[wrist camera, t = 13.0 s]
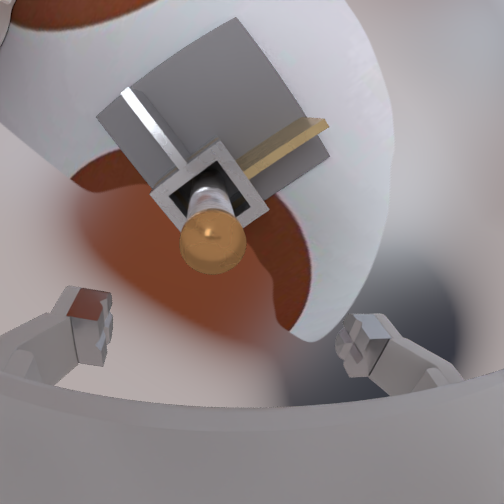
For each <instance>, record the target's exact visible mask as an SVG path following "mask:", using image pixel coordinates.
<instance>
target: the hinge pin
mask: <svg viewBox="0 0 504 504" xmlns="http://www.w3.org/2000/svg"><path fill="white" fill-rule="evenodd" d="M179 246H180V252H181V255H182V257H183V259H184V260H185V262H186V263H187V264H188V265H189V266H190V267H192V268H193V269H194V270H196V271H198V272H201V273H204V274H221V273H224V272H227V271H229V270H230V269H232V268H234V267H235V266H236V265H237V264H238V263H239V262H240V260H241V259H242V257H243V256H244V253H245V250H246V236H245V233H244V230H243V227H242V225H241V223H240V222H239V220H238V219H237V218H236V217H235V215H234V212H233V209H232V206H231V202H230V199H229V196H228V193H227V189H226V186H225V183H224V180H223V177H222V175H221V174H220V173H219V172H218V171H217V170H214V169H211V168H206V169H204V170H203V171H201V172H200V173H198V174H197V175H196V176H194V178H193V181H192V187H191V193H190V200H189V207H188V214H187V221H186V222H185V224H184V226H183V228H182V230H181V235H180V241H179Z"/></svg>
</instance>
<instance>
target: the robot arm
mask: <svg viewBox="0 0 504 504" xmlns="http://www.w3.org/2000/svg"><path fill="white" fill-rule="evenodd" d="M15 1H16V0H0V46H1V44H2V42H3V40H4V37H5V35H6V32H7V30H8V26H9V22H10V16H11V10H12V7H13V5H14V3H15ZM111 306H112V295H111V293H110V292H104V291H98V290H92V289H86V288H80V287H74V286H67V287H66V288H65V289H64V291H63V293H62V294H61V296H60V298H59V299H58V301H57V303H56V304H55V306H54V307H53V309H52V311H51V313H44V314H42V315H40V316H38V317H36V318H34V319H32V320H30V321H28V322H27V323H24V324H22V325H20V326H19V327H16V328H14V329H12V330H10V331H8V332H7V333H5V334H3V335H1V336H0V504H504V369H501V370H499V371H495V372H492V373H489V374H486V375H482V376H479V377H475V378H472V379H468V380H464V379H463V377H462V376H461V375H460V374H459V372H458V371H457V370H456V369H455V368H454V366H453V365H452V364H451V363H449V362H447V361H446V360H444V359H442V358H440V357H438V356H437V355H435V354H433V353H431V352H430V351H428V350H426V349H424V348H423V347H421V346H419V345H417V344H416V343H414V342H412V341H410V340H409V339H407V338H403V337H402V336H401V335H400V333H399V332H398V331H397V330H396V329H395V327H394V326H393V325H392V323H391V322H390V321H389V320H388V318H387V317H386V316H385V315H383V314H348V315H347V316H346V317H345V319H344V321H343V325H344V328H343V329H342V330H341V331H340V332H339V333H338V335H337V338H336V343H335V348H336V352H337V354H338V356H339V357H340V358H341V359H343V360H344V364H343V366H344V367H345V369H346V371H347V373H348V375H349V377H366V376H369V378H370V379H371V380H372V381H374V382H375V383H376V384H377V385H378V386H380V387H381V388H382V389H383V390H384V391H385V392H387V393H388V394H389V395H390V397H383V398H377V399H370V400H362V401H354V402H346V403H335V404H324V405H311V406H295V407H269V408H225V407H200V406H183V405H172V404H160V403H151V402H142V401H135V400H127V399H120V398H114V397H107V396H101V395H95V394H90V393H85V392H80V391H75V390H70V389H66V388H61V387H57V386H54V385H55V384H56V383H57V382H58V381H60V380H61V379H62V378H63V377H64V376H65V375H67V374H68V373H69V372H70V371H71V370H72V369H74V368H75V367H76V366H77V365H78V363H81V364H87V365H94V366H101V367H103V366H104V362H105V358H106V355H107V344H109V343H110V341H111V337H112V330H113V316H112V314H111V313H110V309H111Z"/></svg>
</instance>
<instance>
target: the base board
mask: <svg viewBox="0 0 504 504" xmlns="http://www.w3.org/2000/svg"><path fill="white" fill-rule="evenodd" d="M130 88H133V89H136V90H139V91H142V92H144V94H145V95H146V96H147V97H148V99H149V100H150V101H151V103H152V104H153V105H154V107H155V108H156V109H157V110H158V112H159V113H160V114H161V116H162V117H163V118H164V120H165V121H166V122H167V123H168V125H169V126H170V127H171V129H172V130H173V131H174V133H175V134H176V135H177V137H178V138H179V139H180V141H181V142H182V143H183V144H184V146H185V147H186V148H187V150H188V151H189V152H190V154H192V153H193V152H194V151H196V150H197V149H199V148H200V147H201V146H203V145H204V144H205V143H207V142H208V141H210V140H211V139H213V138H214V137H215V136H218V137H219V139H220V140H221V141H222V143H223V144H224V146H225V147H226V148H227V150H228V151H229V152H230V154H231V155H232V157H233V158H234V159H235V160H237V159H238V158H240V157H241V156H242V155H244V154H245V153H247V152H248V151H250V150H251V149H253V148H254V147H256V146H257V145H259V144H260V143H262V142H263V141H265V140H266V139H268V138H269V137H271V136H272V135H274V134H275V133H277V132H279V131H280V130H282V129H283V128H285V127H286V126H288V125H289V124H291V123H293V122H294V121H296V120H297V119H299V118H301V117H306V115H305V114H304V112H303V111H302V109H301V107H300V106H299V104H298V103H297V101H296V100H295V98H294V97H293V95H292V93H291V92H290V90H289V89H288V87H287V86H286V84H285V83H284V82H283V80H282V79H281V77H280V76H279V74H278V73H277V71H276V70H275V68H274V67H273V66H272V64H271V63H270V61H269V60H268V59H267V57H266V56H265V54H264V53H263V52H262V50H261V49H260V48H259V46H258V45H257V43H256V42H255V41H254V39H253V38H252V37H251V36H250V34H249V33H248V32H247V30H246V29H245V28H244V26H243V25H242V24H241V23H240V21H239V20H238V19H237V18H236V17H235V18H233V19H231V20H230V21H228V22H226V23H224V24H222V25H221V26H219V27H217V28H215V29H214V30H212V31H210V32H209V33H207V34H205V35H204V36H202V37H200V38H199V39H197V40H196V41H194V42H193V43H191V44H189V45H188V46H186V47H185V48H183V49H182V50H180V51H179V52H177V53H176V54H174V55H173V56H171V57H170V58H169V59H167V60H166V61H164V62H163V63H161V64H160V65H159V66H157V67H156V68H155V69H153V70H152V71H151V72H149V73H148V74H147V75H145V76H144V77H143V78H141V79H140V80H139V81H137V82H136V83H135V84H134V85H132V86H131V87H130ZM96 118H97V119H98V121H99V122H100V123H101V124H102V126H103V127H104V128H105V130H106V131H107V132H108V134H109V135H110V136H111V137H112V139H113V140H114V141H115V143H116V144H117V145H118V146H119V148H120V149H121V150H122V152H123V153H124V154H125V155H126V157H127V158H128V159H129V160H130V162H131V163H132V164H133V165H134V167H135V168H136V169H137V171H138V172H139V173H140V174H141V176H142V177H143V178H144V179H145V181H146V182H147V183H148V184H149V185H150V187H151V188H152V189H153V187H154V186H155V184H156V183H157V181H158V180H159V178H160V177H162V176H163V175H164V174H165V173H167V172H168V171H169V170H171V169H172V168H173V167H174V166H176V165H175V164H174V162H173V161H172V160H171V159H170V157H169V156H168V155H167V153H166V152H165V151H164V150H163V148H162V147H161V146H160V144H159V143H158V142H157V141H156V139H155V138H154V137H153V135H152V134H151V133H150V131H149V130H148V129H147V128H146V126H145V125H144V124H143V122H142V121H141V120H140V119H139V117H138V116H137V115H136V113H135V112H134V111H133V109H132V108H131V107H130V106H129V104H128V103H127V102H126V100H125V99H124V98H123V96H122V95H120V96H119V97H118V98H117V99H115V100H114V101H113V102H112V103H111V104H110V105H108V106H107V107H106V108H105V109H104V110H103V111H102V112H101V113H99V114H98V115H97V116H96ZM329 157H330V155H329V154H328V152H327V150H326V148H325V147H324V145H323V143H322V142H321V140H320V138H319V137H318V135H316V136H314V137H313V138H311V139H309V140H308V141H306V142H305V143H303V144H302V145H300V146H299V147H297V148H296V149H294V150H292V151H291V152H289V153H288V154H286V155H285V156H283V157H282V158H280V159H279V160H277V161H276V162H274V163H273V164H271V165H270V166H268V167H267V168H265V169H264V170H262V171H261V172H260V173H258V174H257V175H255V176H254V177H252V178H251V179H249V180H250V182H251V183H252V185H253V186H254V188H255V189H256V190H257V192H258V193H259V195H260V196H261V198H262V199H263V201H264V200H266V199H267V198H269V197H270V196H272V195H273V194H275V193H276V192H278V191H279V190H281V189H282V188H284V187H285V186H287V185H288V184H289V183H291V182H292V181H294V180H295V179H297V178H298V177H300V176H301V175H303V174H304V173H306V172H307V171H309V170H310V169H312V168H313V167H315V166H316V165H318V164H320V163H321V162H323V161H324V160H326V159H327V158H329ZM207 168H211V169H214V170H217V171H218V172H219V173H220V174H221V175H222V177H223V180H224V183H225V186H226V189H227V193H228V196H229V198H230V197H231V196H232V195H234V194H235V193H237V192H238V191H239V190H238V188H237V187H236V186H235V184H234V183H233V181H232V180H231V179H230V177H229V176H228V175H227V173H226V172H225V171H224V169H223V168H222V166H221V165H220V164H219V162H218V161H217V160H216V161H215V162H214V163H212V164H211V165H209V166H208V167H207ZM205 169H206V168H205ZM193 178H194V177H193ZM193 178H192V179H190V180H189V181H188V182H186V183H185V184H184V185H182V186H181V188H182V189H183V191H184V192H185V193H186V194H187V196H188V197H189V198H190V193H191V187H192V181H193Z"/></svg>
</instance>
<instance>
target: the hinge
mask: <svg viewBox="0 0 504 504" xmlns="http://www.w3.org/2000/svg"><path fill="white" fill-rule="evenodd" d="M120 94H121V95H122V96H123V98H124V99H125V100H126V102H127V103H128V104H129V106H130V107H131V108H132V109H133V111H134V112H135V113H136V115H137V116H138V117H139V119H140V120H141V121H142V122H143V124H144V125H145V126H146V128H147V129H148V130H149V131H150V133H151V134H152V135H153V137H154V138H155V139H156V141H157V142H158V143H159V144H160V146H161V147H162V148H163V150H164V151H165V152H166V153H167V155H168V156H169V157H170V159H171V160H172V161H173V162H174V164H175V165H176V166H174V167H173V168H172V169H171V170H169V171H168V172H167V173H165V174H164V175H163V176H162V177H160V178H159V180H158V181H157V183H156V184H155V186H154V187H153V189H152V190H151V192H150V195H151V197H152V198H153V199H154V200H155V202H156V203H157V204H158V205H159V207H160V208H161V209H162V210H163V211H164V213H165V214H166V215H167V216H168V217H169V218H170V220H171V221H172V222H173V223H174V225H175V226H176V227H177V228H178V229H179V231H180V232H181V230H182V228H183V226H184V224H185V222H186V221H187V214H188V207H189V200H190V198H189V197H188V196H187V194H186V193H185V192H184V191H183V189H182V188H181V186H182V185H184V184H185V183H186V182H188V181H189V180H190V179H192V178H193V177H194V176H196V175H197V174H198V173H200V172H201V171H203V170H204V169H205V168H207V167H208V166H209V165H211V164H212V163H214V162H215V161H216V160H217V161H218V162H219V164H220V165H221V166H222V168H223V169H224V171H225V172H226V173H227V175H228V176H229V177H230V179H231V180H232V181H233V183H234V184H235V186H236V187H237V188H238V190H239V191H238V192H237V193H235V194H234V195H232V196H231V197H230V198H229V199H230V202H231V206H232V209H233V212H234V215H235V217H236V218H237V219H238V220H239V222H240V223H241V225H242V227H243V228H244V227H245V226H247V225H248V224H250V223H251V222H252V221H254V220H255V219H257V218H258V217H260V216H261V215H263V214H264V213H266V212H267V211H268V210H269V208H268V207H267V205H266V204H265V202H264V201H263V199H262V198H261V196H260V195H259V193H258V192H257V190H256V189H255V188H254V186H253V185H252V183H251V182H250V180H249V179H251V178H252V177H254V176H255V175H257V174H258V173H260V172H261V171H262V170H264V169H265V168H267V167H268V166H270V165H271V164H273V163H274V162H276V161H277V160H279V159H280V158H282V157H283V156H285V155H286V154H288V153H289V152H291V151H292V150H294V149H296V148H297V147H299V146H300V145H302V144H303V143H305V142H306V141H308V140H309V139H311V138H313V137H314V136H316V135H317V134H319V133H320V132H322V131H324V130H325V129H327V128H328V127H329V126H328V124H327V122H326V121H325V119H320V118H307V117H301V118H299V119H297V120H296V121H294V122H293V123H291V124H289V125H288V126H286V127H285V128H283V129H282V130H280V131H279V132H277V133H275V134H274V135H272V136H271V137H269V138H268V139H266V140H265V141H263V142H262V143H260V144H259V145H257V146H256V147H254V148H253V149H251V150H250V151H248V152H247V153H245V154H244V155H242V156H241V157H240V158H238V159H237V160H235V159H234V158H233V157H232V155H231V154H230V152H229V151H228V150H227V148H226V147H225V146H224V144H223V143H222V141H221V140H220V139H219V137H218V136H215V137H214V138H213V139H211V140H210V141H208V142H207V143H205V144H204V145H203V146H201V147H200V148H199V149H197V150H196V151H194V152H193V153H192V154H190V152H189V151H188V150H187V148H186V147H185V146H184V144H183V143H182V142H181V141H180V139H179V138H178V137H177V135H176V134H175V133H174V131H173V130H172V129H171V127H170V126H169V125H168V123H167V122H166V121H165V120H164V118H163V117H162V116H161V114H160V113H159V112H158V110H157V109H156V108H155V107H154V105H153V104H152V103H151V101H150V100H149V99H148V97H147V96H146V95H145V94H144V92H142V91H139V90H136V89H133V88H130V87H127V88H126V89H125V90H124V91H122V92H121V93H120Z"/></svg>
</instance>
